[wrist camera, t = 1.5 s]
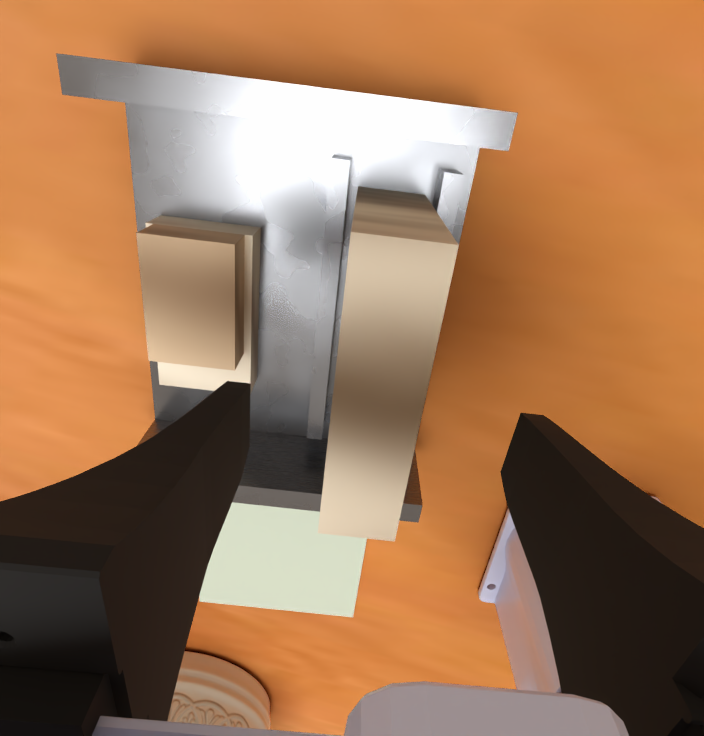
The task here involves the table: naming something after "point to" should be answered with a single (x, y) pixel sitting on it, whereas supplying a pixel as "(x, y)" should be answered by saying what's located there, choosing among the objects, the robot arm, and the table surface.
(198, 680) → the jar
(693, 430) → the table surface
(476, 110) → the rack
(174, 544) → the robot arm
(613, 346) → the table surface
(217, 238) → the offcut upper
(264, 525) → the mat
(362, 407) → the wooden block
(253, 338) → the offcut lower
